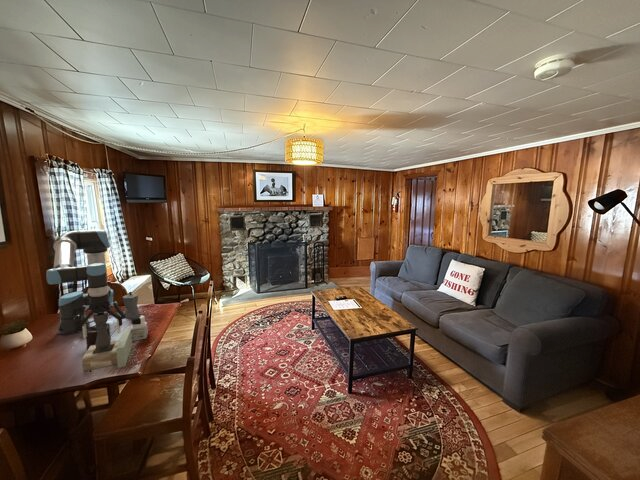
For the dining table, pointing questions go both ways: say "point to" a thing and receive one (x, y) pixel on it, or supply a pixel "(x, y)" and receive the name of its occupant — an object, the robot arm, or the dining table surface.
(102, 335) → the candle holder
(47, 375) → the dining table surface
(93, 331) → the coffee grinder
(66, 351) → the dining table surface
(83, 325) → the robot arm
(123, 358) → the backstop wall
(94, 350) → the socket block
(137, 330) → the container
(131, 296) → the coffeepot
